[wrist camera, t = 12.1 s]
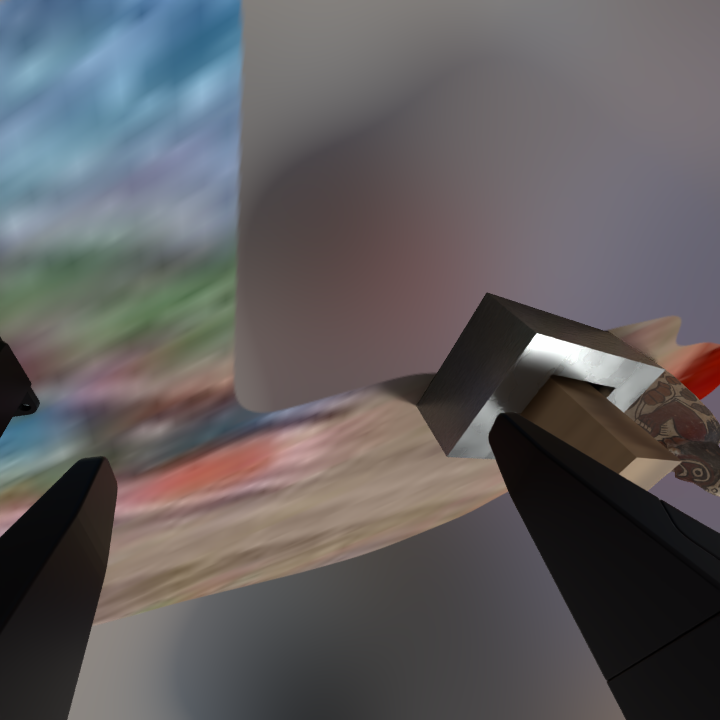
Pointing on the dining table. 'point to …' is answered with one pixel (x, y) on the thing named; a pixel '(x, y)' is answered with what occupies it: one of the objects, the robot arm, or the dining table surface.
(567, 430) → the tan squared block
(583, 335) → the grey hollow block
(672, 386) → the figurine
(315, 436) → the dining table surface
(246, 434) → the dining table surface
